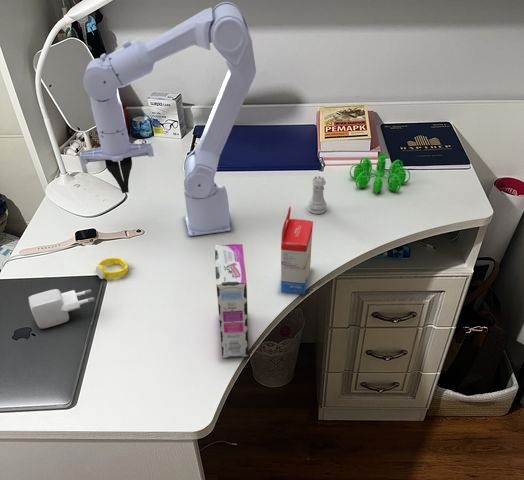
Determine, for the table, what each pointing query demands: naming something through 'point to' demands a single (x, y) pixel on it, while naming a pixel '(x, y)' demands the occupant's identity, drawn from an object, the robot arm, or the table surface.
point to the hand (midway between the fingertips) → (125, 190)
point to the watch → (104, 274)
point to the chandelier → (379, 174)
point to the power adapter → (55, 306)
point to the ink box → (295, 254)
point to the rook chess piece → (317, 196)
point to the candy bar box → (232, 300)
